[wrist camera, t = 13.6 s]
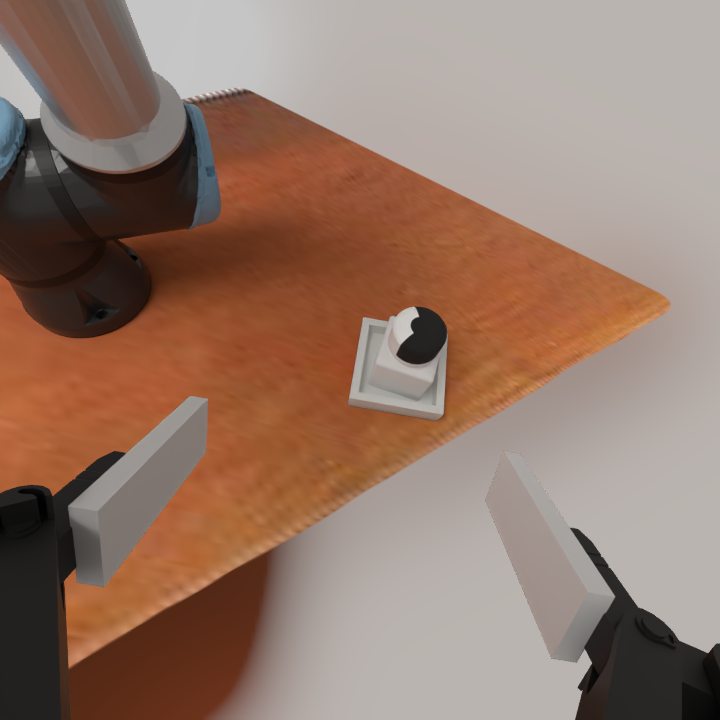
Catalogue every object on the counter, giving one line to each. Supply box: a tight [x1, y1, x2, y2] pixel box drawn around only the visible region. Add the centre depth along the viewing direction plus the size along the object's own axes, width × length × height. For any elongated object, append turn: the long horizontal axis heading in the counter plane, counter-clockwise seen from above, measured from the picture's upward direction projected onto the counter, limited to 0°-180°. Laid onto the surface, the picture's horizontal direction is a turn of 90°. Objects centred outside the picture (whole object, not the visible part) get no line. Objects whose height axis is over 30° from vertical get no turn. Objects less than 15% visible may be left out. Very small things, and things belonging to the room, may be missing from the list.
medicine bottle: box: [368, 307, 447, 401], centre depth 44 cm, size 7×7×12 cm
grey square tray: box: [348, 317, 448, 421], centre depth 49 cm, size 12×12×3 cm
